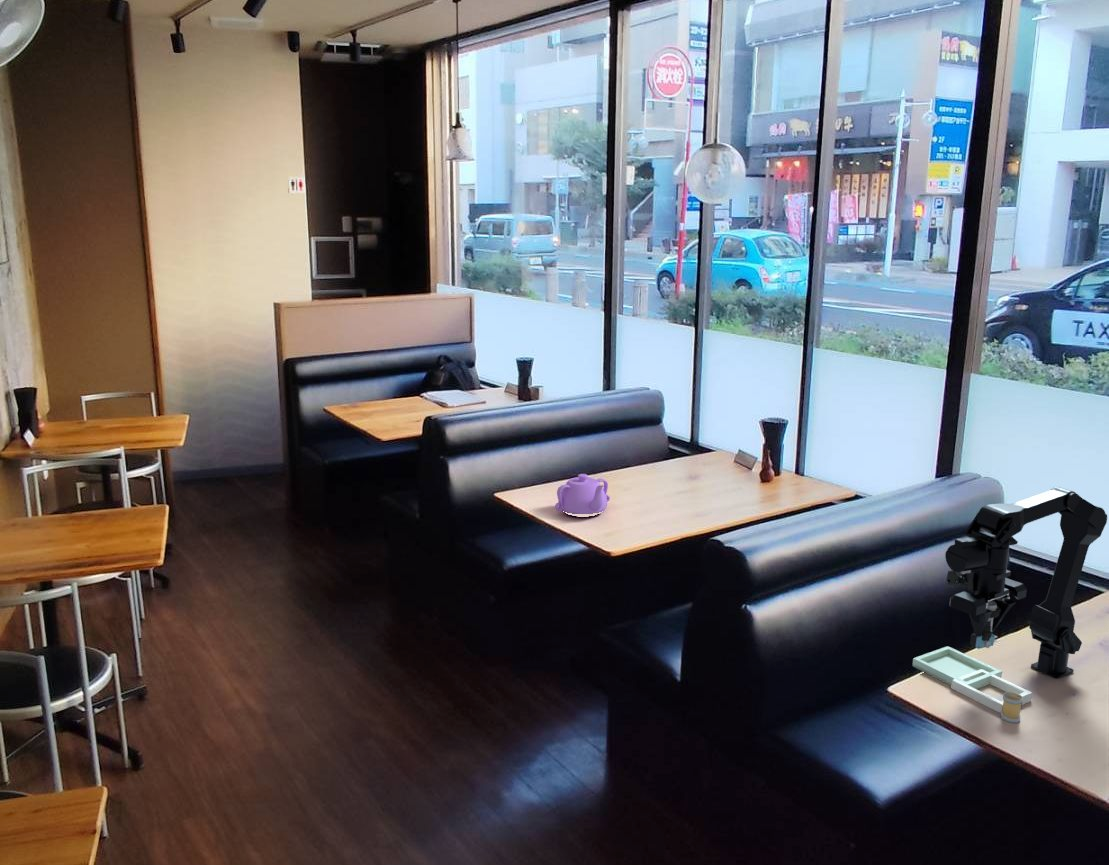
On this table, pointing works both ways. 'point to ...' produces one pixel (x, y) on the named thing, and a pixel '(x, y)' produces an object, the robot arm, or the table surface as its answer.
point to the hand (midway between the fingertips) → (984, 632)
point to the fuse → (1011, 707)
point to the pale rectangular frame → (984, 697)
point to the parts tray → (954, 667)
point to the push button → (986, 629)
